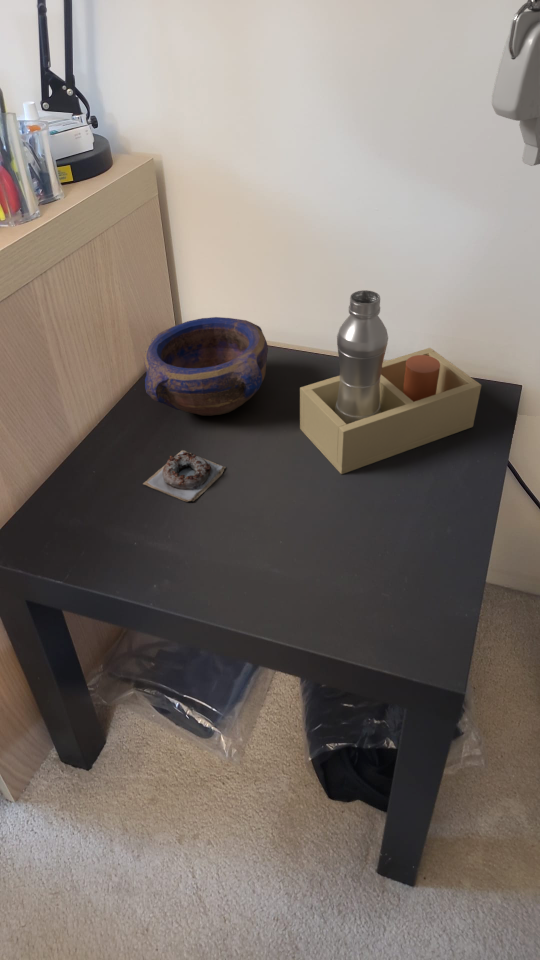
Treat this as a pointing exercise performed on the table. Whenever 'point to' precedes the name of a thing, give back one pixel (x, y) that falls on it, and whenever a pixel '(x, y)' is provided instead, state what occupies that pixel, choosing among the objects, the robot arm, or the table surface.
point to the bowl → (206, 365)
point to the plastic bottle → (361, 358)
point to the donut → (185, 476)
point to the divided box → (388, 415)
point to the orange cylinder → (421, 377)
